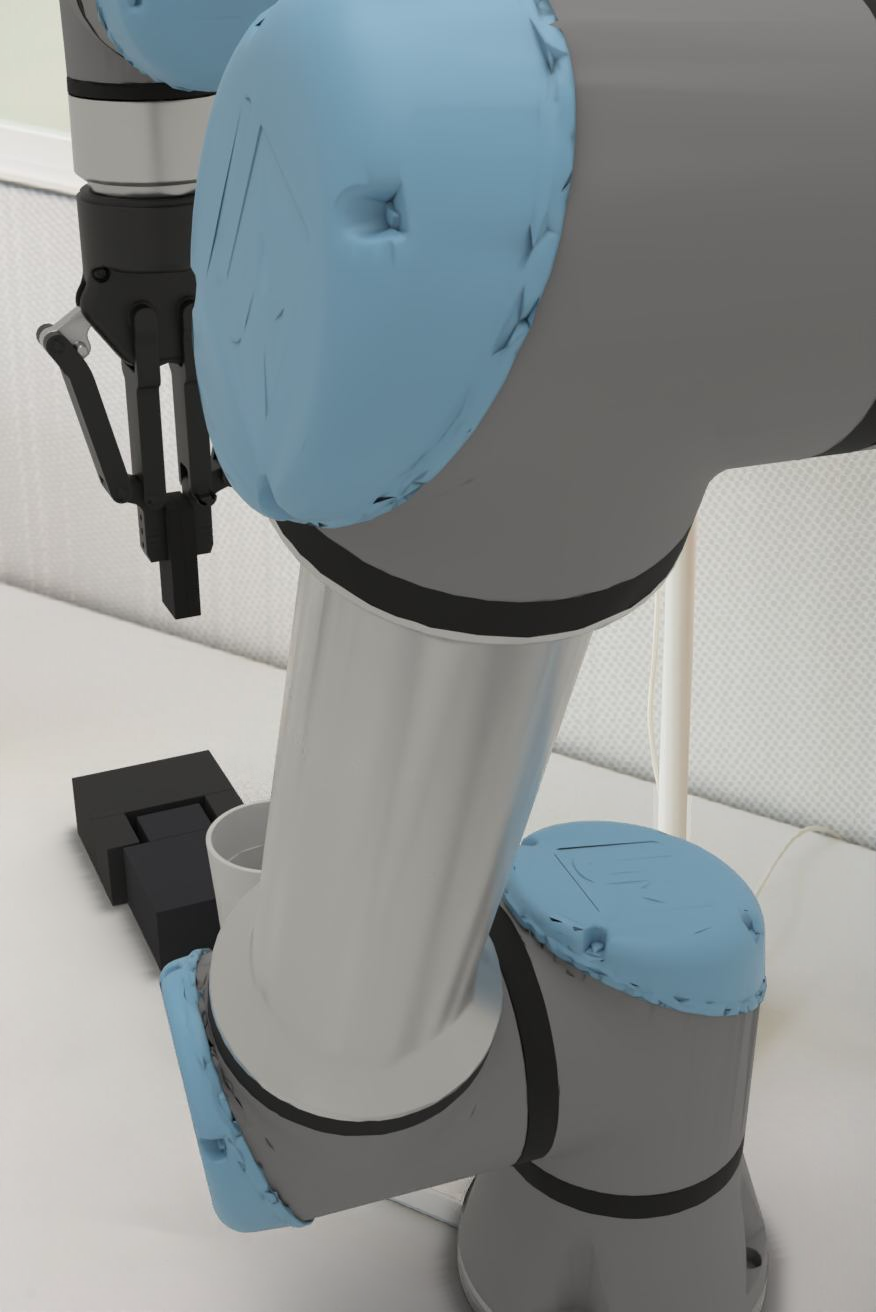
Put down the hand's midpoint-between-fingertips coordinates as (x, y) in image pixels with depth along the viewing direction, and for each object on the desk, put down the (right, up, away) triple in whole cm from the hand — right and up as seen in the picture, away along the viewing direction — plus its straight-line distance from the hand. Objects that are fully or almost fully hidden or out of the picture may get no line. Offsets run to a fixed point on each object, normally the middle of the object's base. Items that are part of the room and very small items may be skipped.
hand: (181, 608), depth 92 cm
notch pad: (-5, -16, +22) cm, 28 cm away
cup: (+5, -24, +7) cm, 26 cm away
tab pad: (-1, -19, +16) cm, 25 cm away
